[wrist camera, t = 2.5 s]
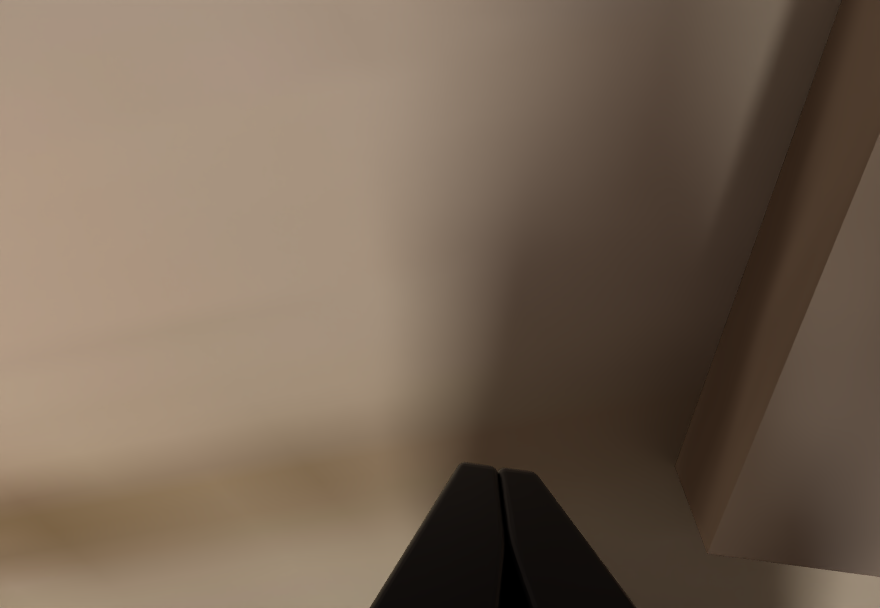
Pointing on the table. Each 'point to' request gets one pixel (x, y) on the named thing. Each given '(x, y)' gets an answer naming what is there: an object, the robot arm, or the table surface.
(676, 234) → the table surface
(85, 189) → the table surface
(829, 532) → the t block
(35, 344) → the table surface
